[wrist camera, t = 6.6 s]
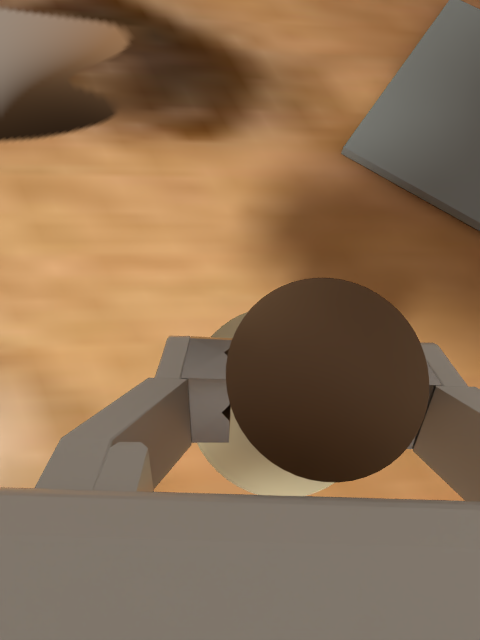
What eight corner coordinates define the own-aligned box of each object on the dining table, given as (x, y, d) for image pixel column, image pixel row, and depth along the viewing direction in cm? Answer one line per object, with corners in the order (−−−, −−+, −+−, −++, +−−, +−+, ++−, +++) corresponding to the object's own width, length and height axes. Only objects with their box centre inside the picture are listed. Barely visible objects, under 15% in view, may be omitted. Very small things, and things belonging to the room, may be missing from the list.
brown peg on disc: (154, 421, 14) (47, 425, 6) (255, 281, 15) (271, 138, 7) (306, 533, 13) (404, 703, 5) (399, 375, 14) (590, 324, 6)
